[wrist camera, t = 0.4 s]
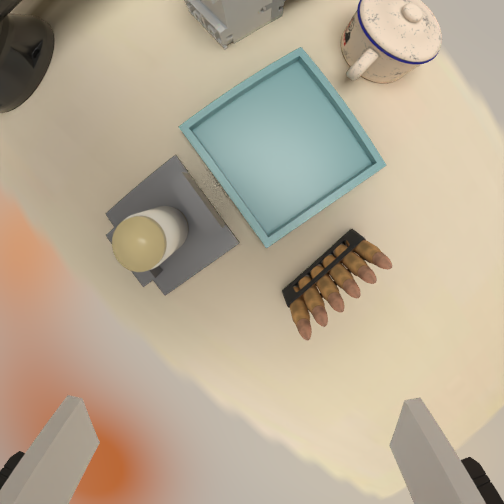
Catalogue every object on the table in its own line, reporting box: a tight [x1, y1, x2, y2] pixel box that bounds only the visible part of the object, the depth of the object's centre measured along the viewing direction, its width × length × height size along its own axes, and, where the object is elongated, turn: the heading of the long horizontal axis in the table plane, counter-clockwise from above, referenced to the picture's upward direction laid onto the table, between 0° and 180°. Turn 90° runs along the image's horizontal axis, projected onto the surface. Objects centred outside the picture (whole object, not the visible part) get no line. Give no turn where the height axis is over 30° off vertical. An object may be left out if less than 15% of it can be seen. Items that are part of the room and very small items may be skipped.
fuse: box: [112, 206, 188, 272], centre depth 30 cm, size 5×5×10 cm
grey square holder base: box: [106, 155, 239, 295], centre depth 34 cm, size 12×11×4 cm
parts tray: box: [179, 47, 386, 248], centre depth 32 cm, size 16×16×2 cm
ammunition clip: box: [282, 229, 392, 340], centre depth 30 cm, size 11×2×12 cm, turn 133°
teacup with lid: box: [341, 0, 442, 83], centre depth 25 cm, size 12×9×12 cm
